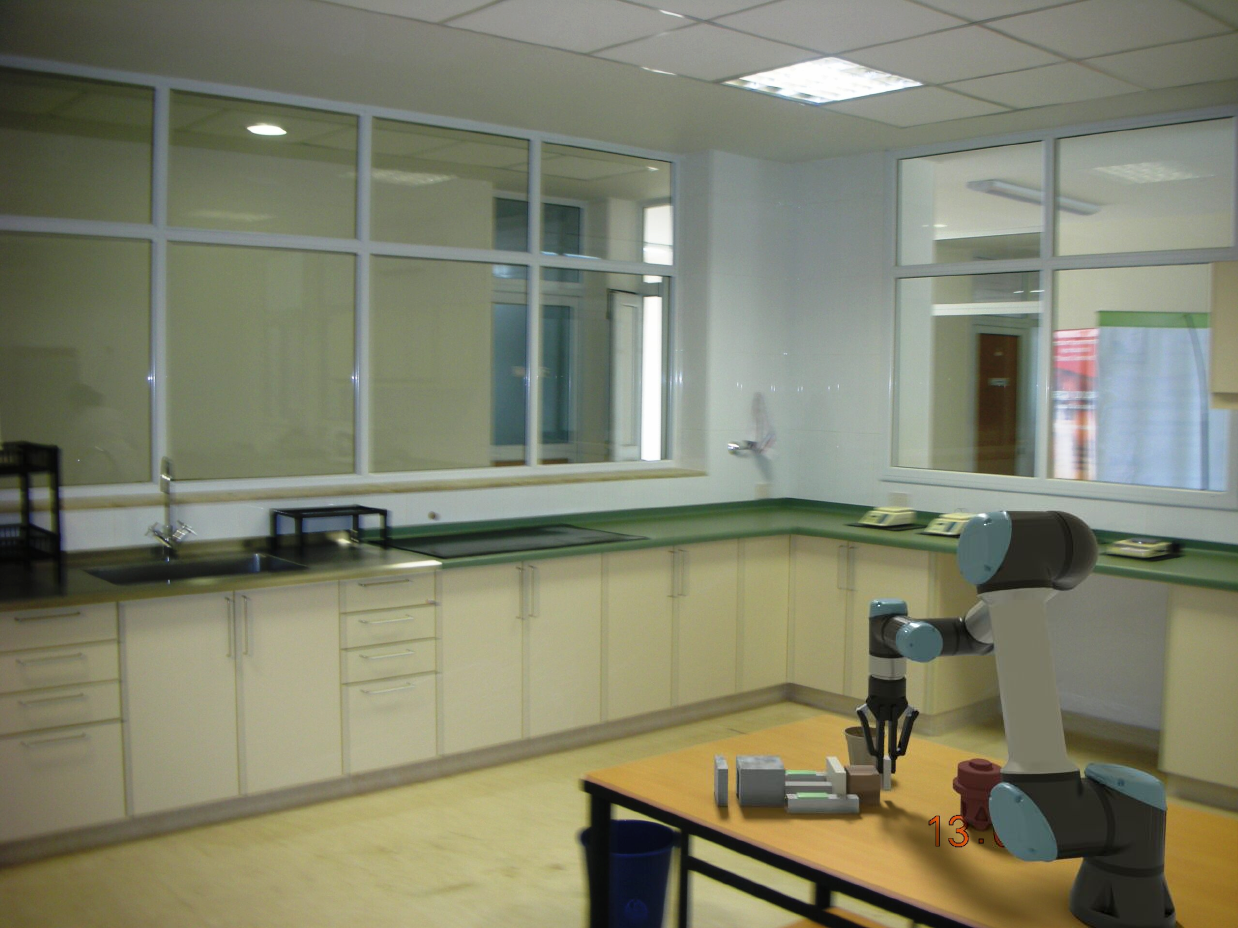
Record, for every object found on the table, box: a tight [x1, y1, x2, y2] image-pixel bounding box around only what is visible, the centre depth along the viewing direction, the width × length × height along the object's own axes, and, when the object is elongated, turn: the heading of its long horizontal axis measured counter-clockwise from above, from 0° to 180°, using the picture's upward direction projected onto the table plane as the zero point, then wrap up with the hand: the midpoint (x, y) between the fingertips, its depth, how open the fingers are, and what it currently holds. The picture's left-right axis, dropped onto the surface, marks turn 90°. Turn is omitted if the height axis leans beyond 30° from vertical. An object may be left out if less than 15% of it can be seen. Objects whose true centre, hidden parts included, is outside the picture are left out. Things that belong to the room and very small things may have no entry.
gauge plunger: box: [785, 756, 846, 798], centre depth 218 cm, size 10×14×7 cm
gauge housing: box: [713, 754, 860, 815], centre depth 218 cm, size 16×28×8 cm, turn 90°
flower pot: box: [842, 725, 888, 768], centre depth 235 cm, size 9×9×9 cm
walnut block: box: [843, 764, 881, 805], centre depth 218 cm, size 6×6×6 cm
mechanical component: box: [952, 757, 1003, 832], centre depth 204 cm, size 12×10×10 cm
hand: (885, 788), depth 218 cm, fingers closed
